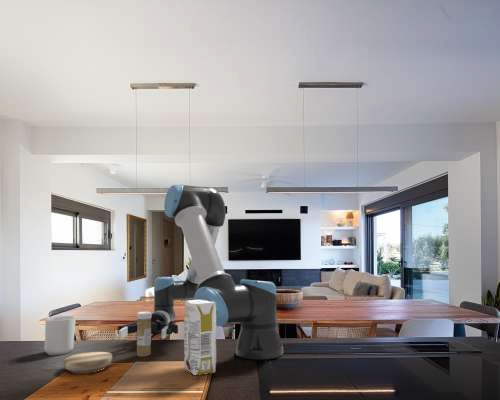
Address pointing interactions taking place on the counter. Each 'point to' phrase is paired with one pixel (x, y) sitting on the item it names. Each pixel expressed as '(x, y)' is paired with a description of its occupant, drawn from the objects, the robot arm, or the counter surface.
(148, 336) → the spice jar
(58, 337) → the mug
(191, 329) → the juice carton
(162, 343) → the counter surface
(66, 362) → the disc
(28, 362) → the counter surface
